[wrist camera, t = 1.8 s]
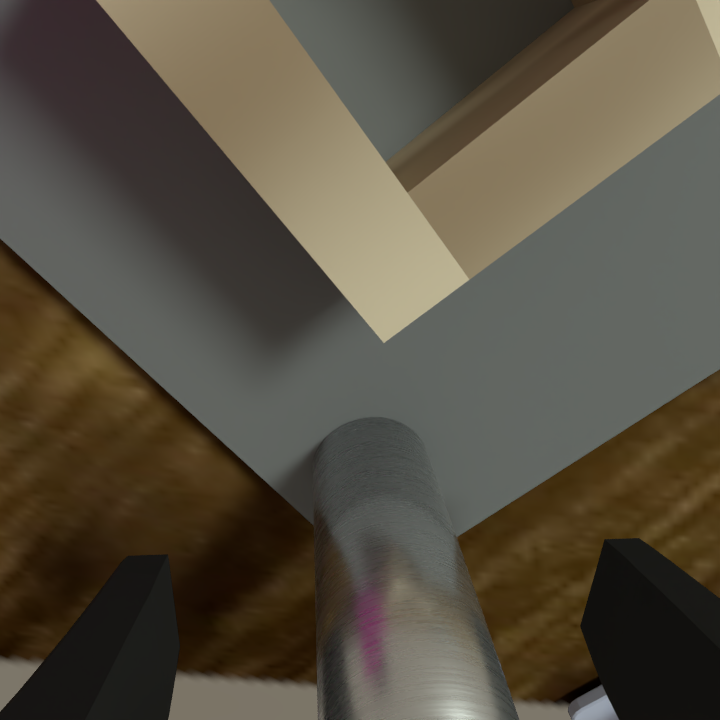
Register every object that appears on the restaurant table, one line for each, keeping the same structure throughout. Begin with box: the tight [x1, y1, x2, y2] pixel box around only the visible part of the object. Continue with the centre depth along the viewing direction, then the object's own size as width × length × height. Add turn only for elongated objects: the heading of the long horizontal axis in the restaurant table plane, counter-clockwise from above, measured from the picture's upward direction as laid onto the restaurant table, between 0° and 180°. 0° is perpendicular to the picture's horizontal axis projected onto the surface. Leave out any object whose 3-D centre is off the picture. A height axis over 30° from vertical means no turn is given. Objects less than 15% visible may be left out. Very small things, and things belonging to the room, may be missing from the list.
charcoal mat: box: [0, 0, 720, 537], centre depth 11 cm, size 14×12×1 cm
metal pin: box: [313, 417, 519, 720], centre depth 9 cm, size 3×3×8 cm
